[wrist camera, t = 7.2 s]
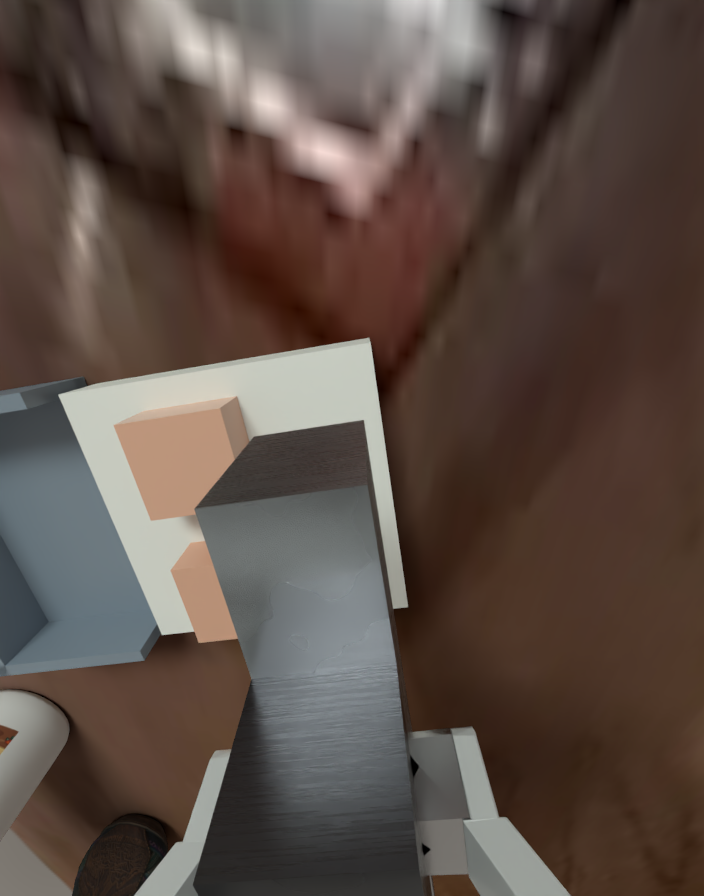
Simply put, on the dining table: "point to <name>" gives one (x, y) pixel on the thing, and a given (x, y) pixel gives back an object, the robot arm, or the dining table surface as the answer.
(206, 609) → the tile back
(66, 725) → the milk bottle
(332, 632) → the two-tone stepped block
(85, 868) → the mate gourd
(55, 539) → the tray
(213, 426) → the tile front
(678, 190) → the dining table surface
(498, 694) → the dining table surface
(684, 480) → the dining table surface
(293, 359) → the board
